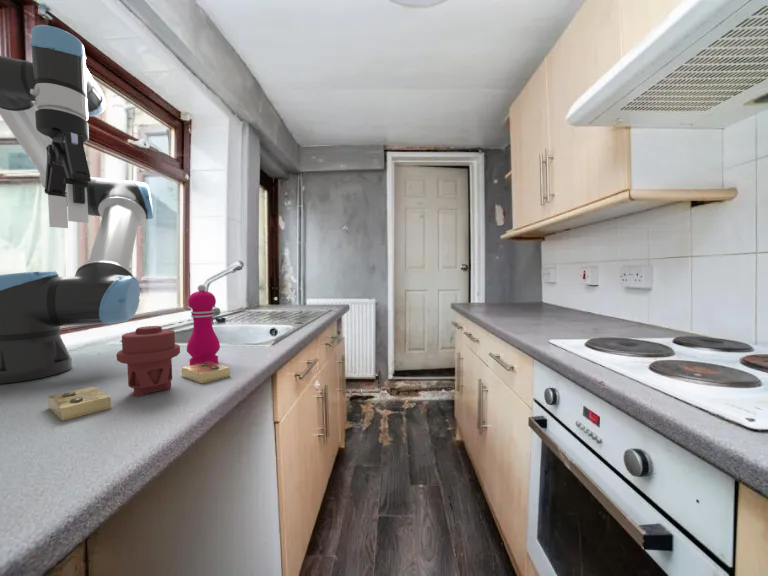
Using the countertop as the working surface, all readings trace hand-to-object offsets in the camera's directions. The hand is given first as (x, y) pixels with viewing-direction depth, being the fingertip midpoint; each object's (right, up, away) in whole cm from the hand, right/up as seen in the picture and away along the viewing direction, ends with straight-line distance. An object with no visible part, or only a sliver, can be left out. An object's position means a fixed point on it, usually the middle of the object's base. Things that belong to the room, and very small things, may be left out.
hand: (68, 225), depth 66 cm
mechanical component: (+18, -33, -2) cm, 37 cm away
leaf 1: (+12, -33, -10) cm, 36 cm away
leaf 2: (+24, -32, +7) cm, 41 cm away
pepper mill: (+18, -32, +16) cm, 40 cm away
